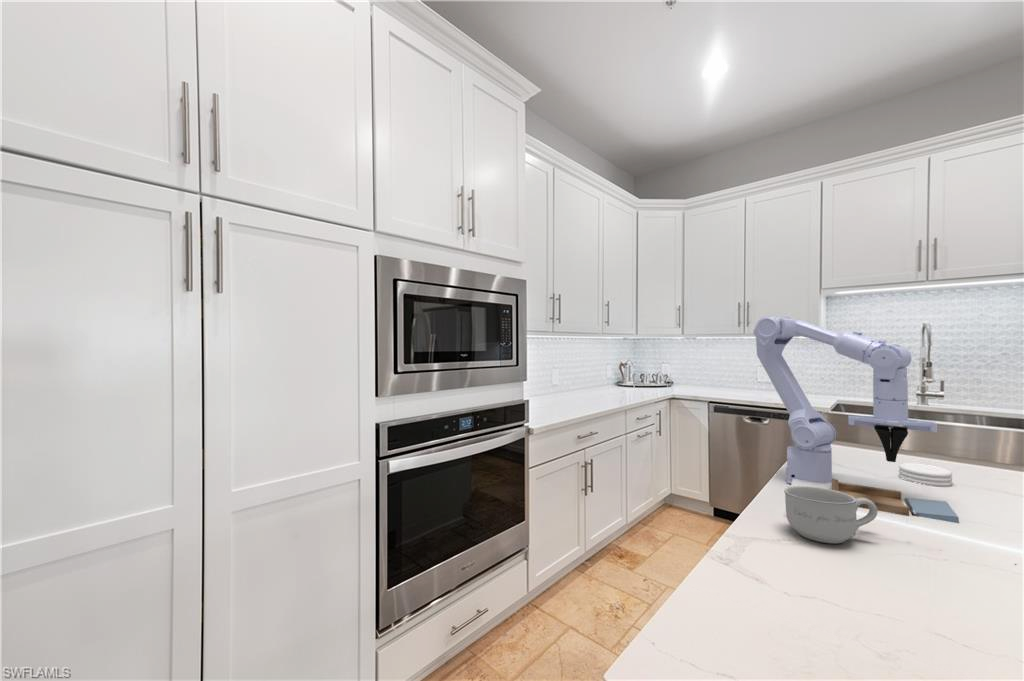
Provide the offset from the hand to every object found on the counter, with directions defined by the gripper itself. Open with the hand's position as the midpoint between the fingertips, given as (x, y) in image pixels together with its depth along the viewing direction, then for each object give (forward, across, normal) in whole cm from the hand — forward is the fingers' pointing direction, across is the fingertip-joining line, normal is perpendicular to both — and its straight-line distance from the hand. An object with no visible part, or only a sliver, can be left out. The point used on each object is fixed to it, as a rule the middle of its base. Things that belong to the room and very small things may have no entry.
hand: (890, 460), depth 93 cm
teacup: (+10, -11, -29) cm, 32 cm away
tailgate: (+8, +2, -6) cm, 10 cm away
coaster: (+10, +9, +27) cm, 30 cm away
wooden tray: (+9, -4, -6) cm, 12 cm away
